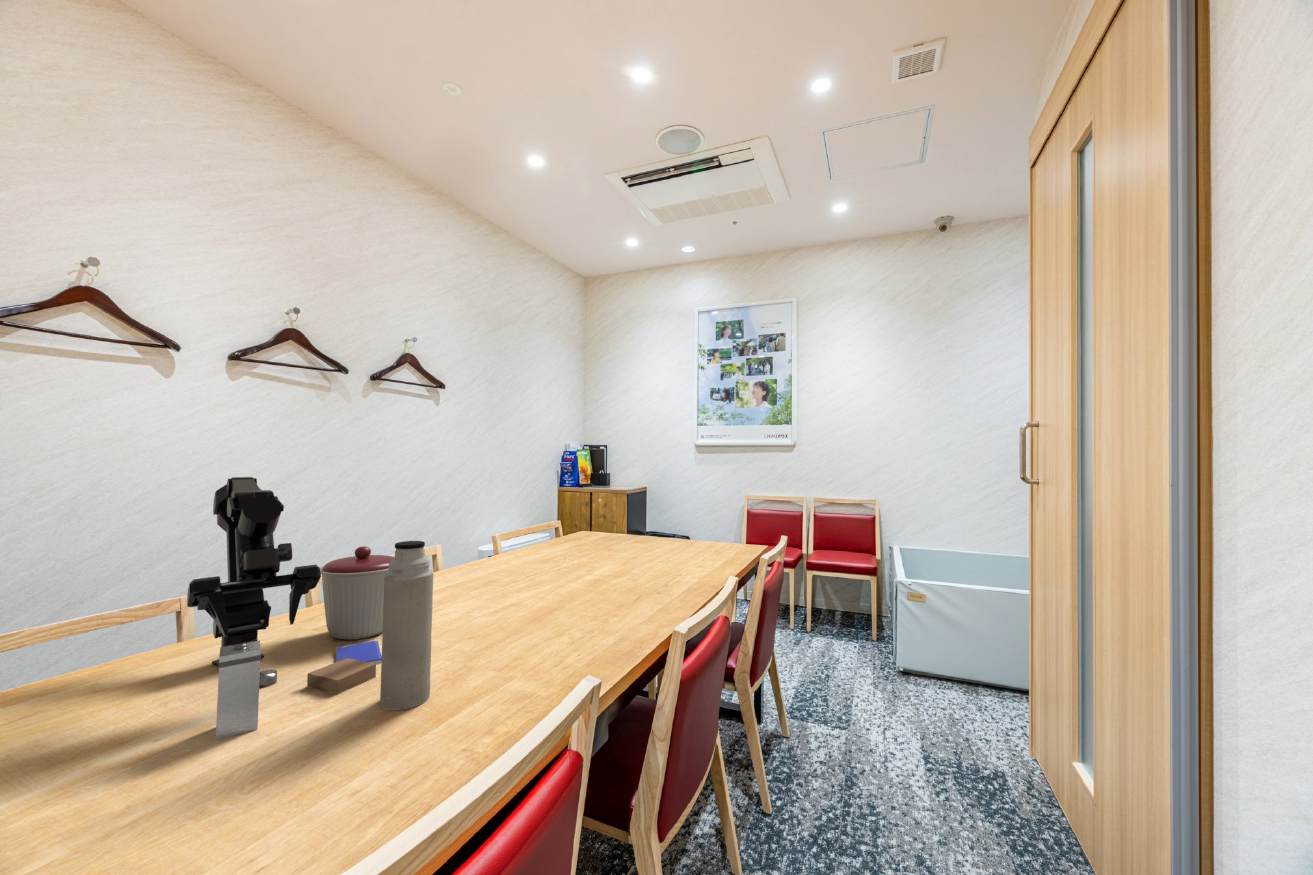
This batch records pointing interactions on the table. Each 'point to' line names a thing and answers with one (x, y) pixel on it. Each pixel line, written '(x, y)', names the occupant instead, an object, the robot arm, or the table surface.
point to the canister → (355, 594)
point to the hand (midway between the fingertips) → (260, 629)
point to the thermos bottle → (407, 628)
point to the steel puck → (267, 678)
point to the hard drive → (360, 652)
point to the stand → (341, 675)
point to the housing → (238, 689)
